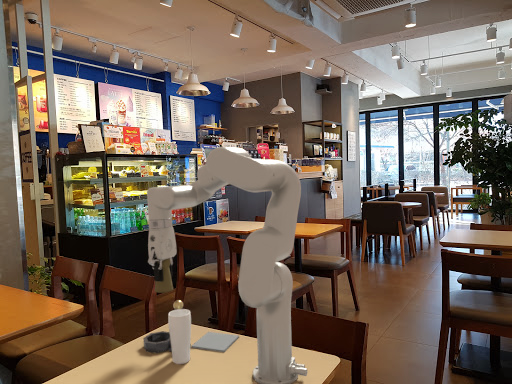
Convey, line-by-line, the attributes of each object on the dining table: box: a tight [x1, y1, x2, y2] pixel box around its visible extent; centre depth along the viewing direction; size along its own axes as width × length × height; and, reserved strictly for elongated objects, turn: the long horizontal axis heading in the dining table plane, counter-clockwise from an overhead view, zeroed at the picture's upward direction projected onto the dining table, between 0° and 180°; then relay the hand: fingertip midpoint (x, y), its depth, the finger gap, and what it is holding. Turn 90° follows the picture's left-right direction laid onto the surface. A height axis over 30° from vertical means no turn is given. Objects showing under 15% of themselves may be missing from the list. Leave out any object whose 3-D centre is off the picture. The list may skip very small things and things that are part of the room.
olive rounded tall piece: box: [154, 258, 174, 294], centre depth 130 cm, size 6×6×11 cm
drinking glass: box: [167, 308, 192, 365], centre depth 120 cm, size 7×7×15 cm
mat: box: [190, 331, 240, 353], centre depth 133 cm, size 12×12×1 cm
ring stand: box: [143, 299, 192, 354], centre depth 130 cm, size 15×10×16 cm, turn 69°
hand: (163, 278), depth 130 cm, fingers closed on olive rounded tall piece, 4 cm apart
